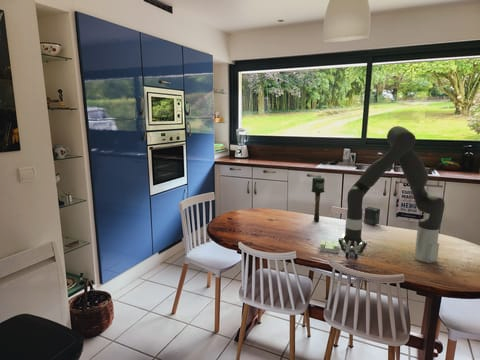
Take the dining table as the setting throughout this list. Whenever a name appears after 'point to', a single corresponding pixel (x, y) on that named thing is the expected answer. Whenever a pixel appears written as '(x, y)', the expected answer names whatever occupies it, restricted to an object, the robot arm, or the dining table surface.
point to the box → (371, 215)
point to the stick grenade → (317, 194)
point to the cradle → (329, 246)
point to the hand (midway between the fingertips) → (351, 259)
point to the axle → (351, 252)
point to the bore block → (346, 244)
